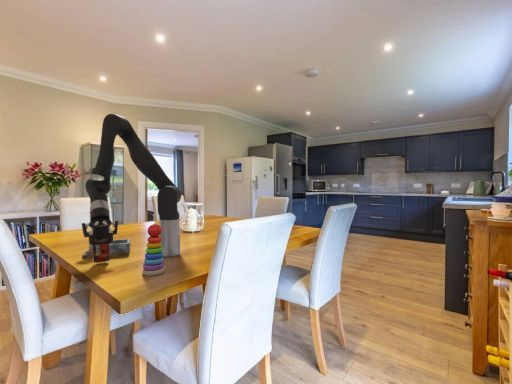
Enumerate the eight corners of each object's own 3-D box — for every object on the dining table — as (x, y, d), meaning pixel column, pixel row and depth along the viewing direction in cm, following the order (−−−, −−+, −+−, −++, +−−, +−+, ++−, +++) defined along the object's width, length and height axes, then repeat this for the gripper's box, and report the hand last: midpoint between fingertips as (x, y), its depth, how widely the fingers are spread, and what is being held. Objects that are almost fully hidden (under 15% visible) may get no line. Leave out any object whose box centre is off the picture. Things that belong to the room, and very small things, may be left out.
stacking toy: (157, 277, 93) (156, 226, 93) (137, 275, 95) (137, 225, 95) (168, 270, 101) (168, 223, 101) (150, 268, 103) (150, 222, 102)
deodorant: (92, 263, 105) (91, 226, 104) (94, 259, 110) (94, 224, 110) (108, 261, 107) (108, 226, 106) (110, 257, 112) (109, 223, 112)
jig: (130, 249, 134) (130, 227, 133) (129, 254, 123) (129, 230, 123) (87, 252, 126) (86, 229, 126) (82, 258, 116) (81, 233, 115)
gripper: (80, 207, 110) (80, 240, 101) (118, 206, 118) (121, 236, 109) (80, 218, 115) (80, 250, 105) (117, 216, 123) (120, 245, 113)
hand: (101, 243), depth 107 cm, fingers closed on deodorant, 6 cm apart
